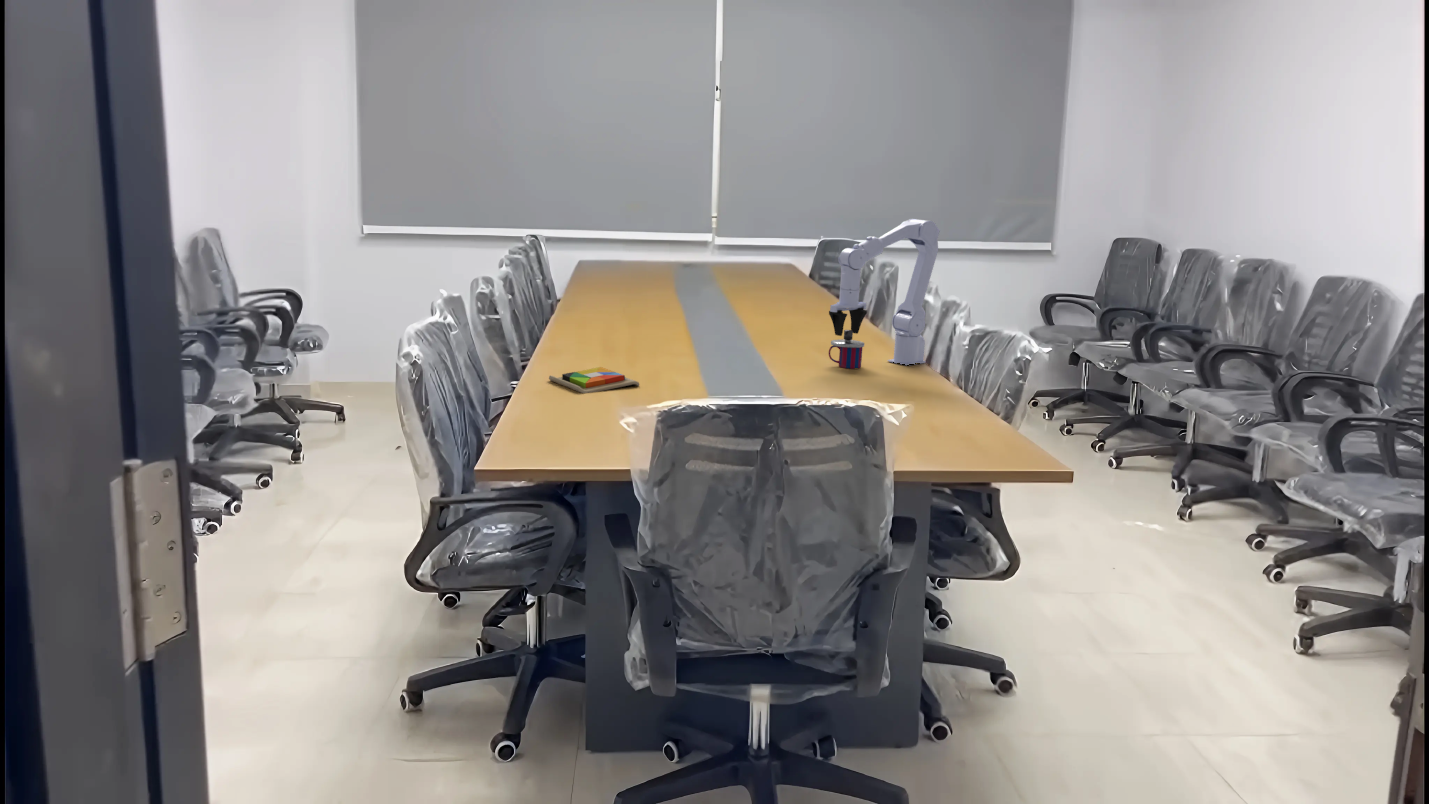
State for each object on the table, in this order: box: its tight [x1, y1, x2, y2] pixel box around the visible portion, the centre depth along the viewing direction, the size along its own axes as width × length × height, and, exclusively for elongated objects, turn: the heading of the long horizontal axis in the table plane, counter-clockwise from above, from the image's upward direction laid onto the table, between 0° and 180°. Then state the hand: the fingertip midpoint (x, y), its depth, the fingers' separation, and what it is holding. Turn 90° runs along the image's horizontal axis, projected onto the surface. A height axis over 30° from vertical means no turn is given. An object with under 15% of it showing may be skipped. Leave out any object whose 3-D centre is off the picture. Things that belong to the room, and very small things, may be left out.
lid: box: [830, 329, 865, 348], centre depth 325 cm, size 10×10×4 cm
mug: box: [828, 345, 863, 370], centre depth 327 cm, size 7×10×7 cm
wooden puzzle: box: [548, 366, 640, 394], centre depth 290 cm, size 18×19×4 cm
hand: (846, 334), depth 326 cm, fingers open, 7 cm apart
